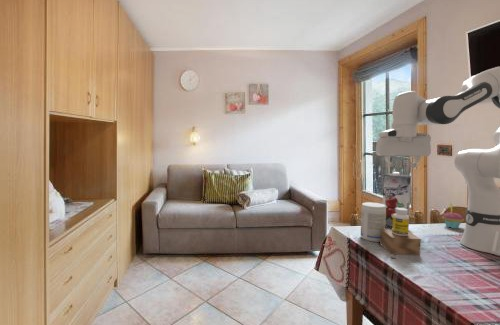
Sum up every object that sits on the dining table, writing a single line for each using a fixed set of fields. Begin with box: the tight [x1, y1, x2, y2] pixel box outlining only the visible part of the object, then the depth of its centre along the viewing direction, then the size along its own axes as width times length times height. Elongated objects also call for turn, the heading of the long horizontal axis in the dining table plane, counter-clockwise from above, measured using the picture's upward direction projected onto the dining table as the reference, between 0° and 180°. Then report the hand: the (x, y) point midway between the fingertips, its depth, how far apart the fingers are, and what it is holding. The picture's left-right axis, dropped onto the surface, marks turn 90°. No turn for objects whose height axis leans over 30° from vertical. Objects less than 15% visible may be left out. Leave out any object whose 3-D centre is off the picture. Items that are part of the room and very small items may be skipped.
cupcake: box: [442, 203, 465, 229], centre depth 133 cm, size 9×8×12 cm
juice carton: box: [382, 171, 412, 229], centre depth 131 cm, size 9×10×27 cm
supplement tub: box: [360, 201, 386, 243], centre depth 115 cm, size 10×10×15 cm
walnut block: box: [380, 228, 422, 256], centre depth 105 cm, size 10×10×6 cm
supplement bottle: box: [391, 208, 410, 236], centre depth 104 cm, size 5×5×10 cm
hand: (401, 167), depth 110 cm, fingers open, 8 cm apart
